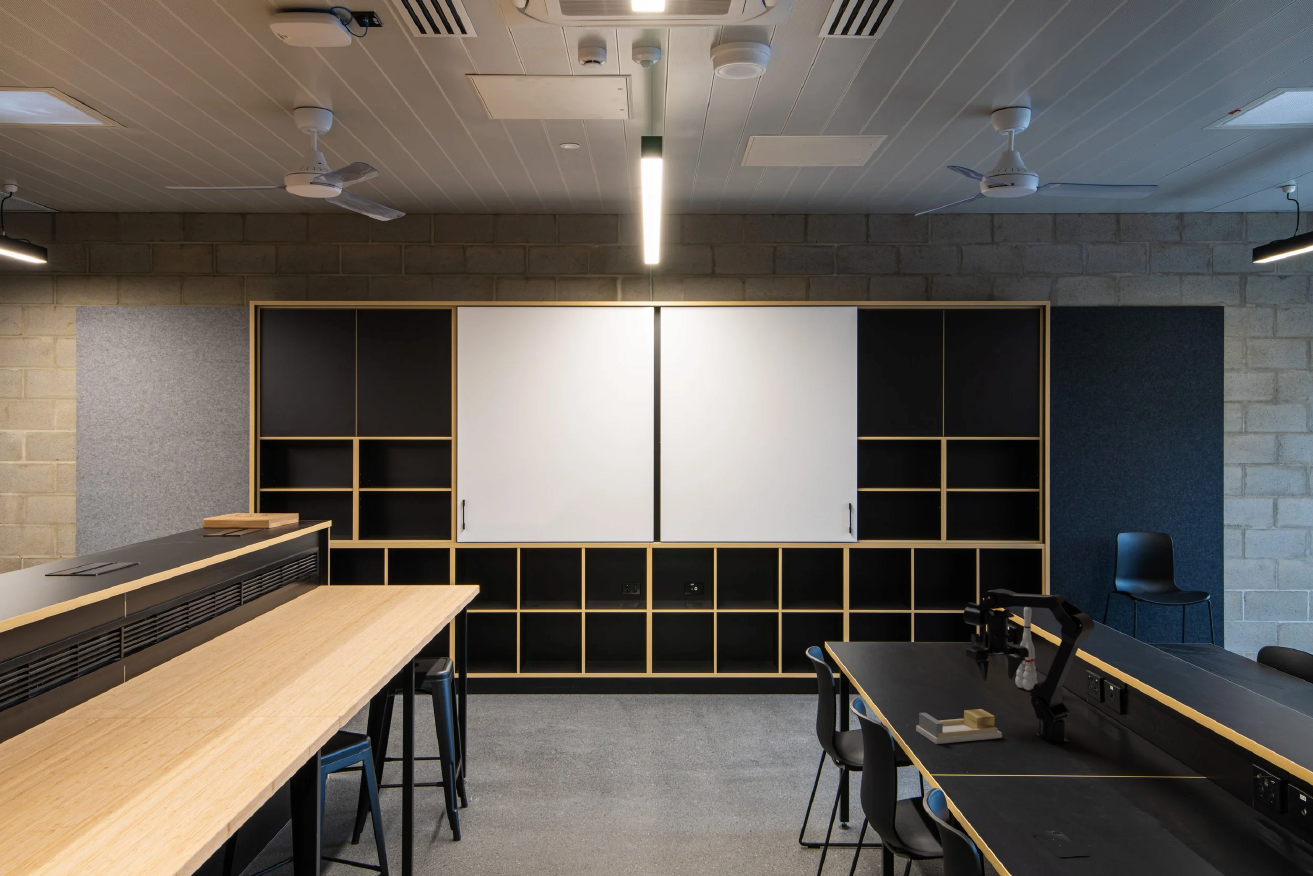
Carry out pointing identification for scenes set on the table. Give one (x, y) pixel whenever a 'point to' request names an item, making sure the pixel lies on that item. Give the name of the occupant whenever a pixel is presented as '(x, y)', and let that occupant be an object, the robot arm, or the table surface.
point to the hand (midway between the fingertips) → (997, 679)
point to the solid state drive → (1053, 836)
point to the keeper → (978, 719)
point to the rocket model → (1027, 667)
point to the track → (952, 730)
